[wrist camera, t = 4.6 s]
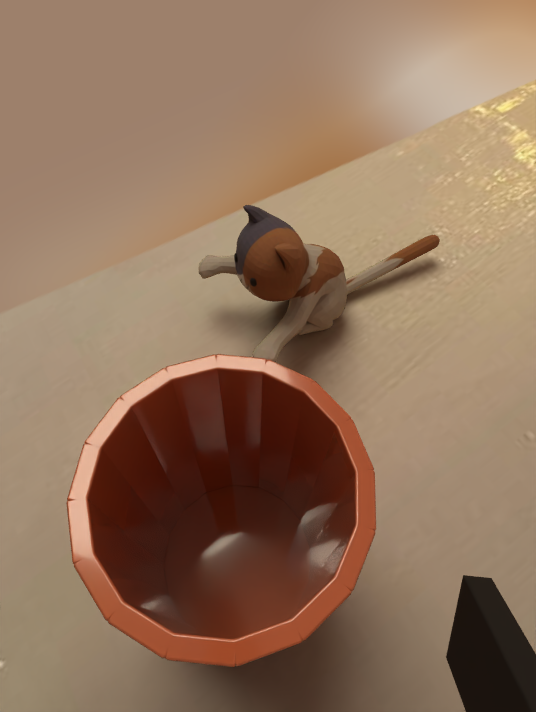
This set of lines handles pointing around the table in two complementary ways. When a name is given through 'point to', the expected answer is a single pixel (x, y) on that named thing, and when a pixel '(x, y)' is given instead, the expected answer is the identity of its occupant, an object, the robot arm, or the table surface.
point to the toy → (297, 275)
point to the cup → (222, 510)
